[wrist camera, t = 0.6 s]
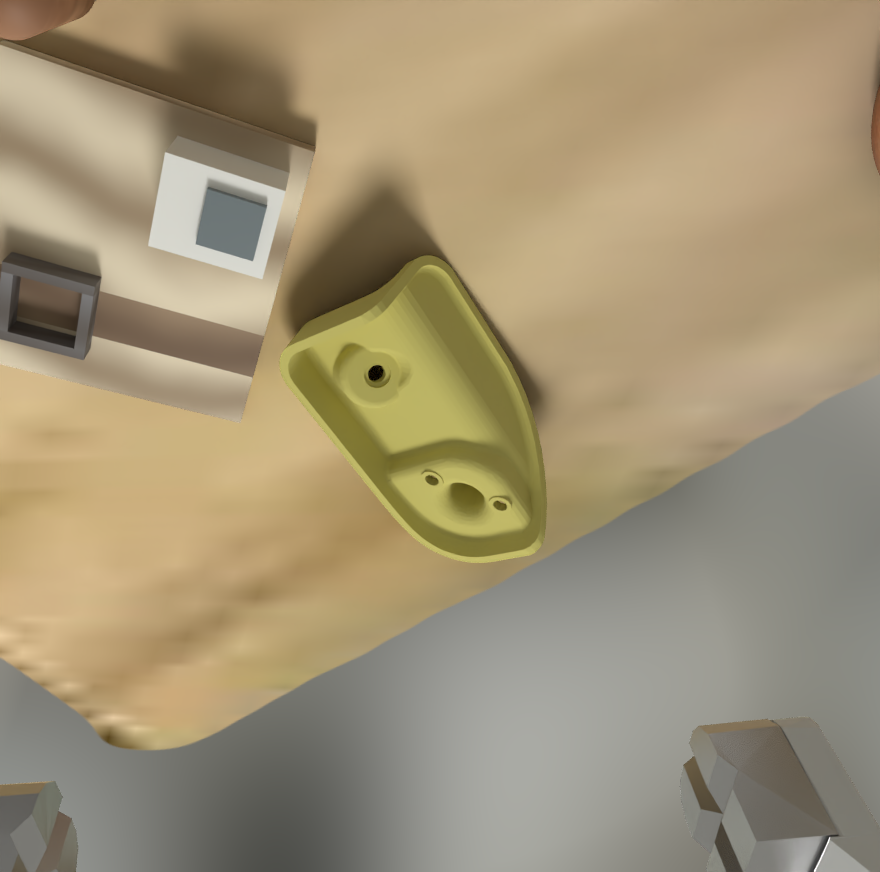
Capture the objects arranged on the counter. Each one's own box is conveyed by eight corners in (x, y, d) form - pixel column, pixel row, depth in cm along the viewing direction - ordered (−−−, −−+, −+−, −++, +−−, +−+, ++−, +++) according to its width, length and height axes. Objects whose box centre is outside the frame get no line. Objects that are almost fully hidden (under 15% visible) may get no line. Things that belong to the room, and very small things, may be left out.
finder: (161, 224, 45) (146, 248, 42) (177, 135, 43) (163, 154, 39) (267, 256, 47) (261, 282, 43) (289, 172, 44) (285, 193, 41)
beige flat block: (4, 39, 40) (-17, 47, 38) (315, 146, 45) (313, 159, 42) (-21, 348, 49) (-38, 369, 47) (242, 413, 53) (237, 435, 51)
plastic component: (263, 356, 49) (387, 304, 43) (315, 292, 54) (432, 238, 48) (435, 570, 58) (558, 551, 52) (466, 498, 63) (581, 473, 57)
